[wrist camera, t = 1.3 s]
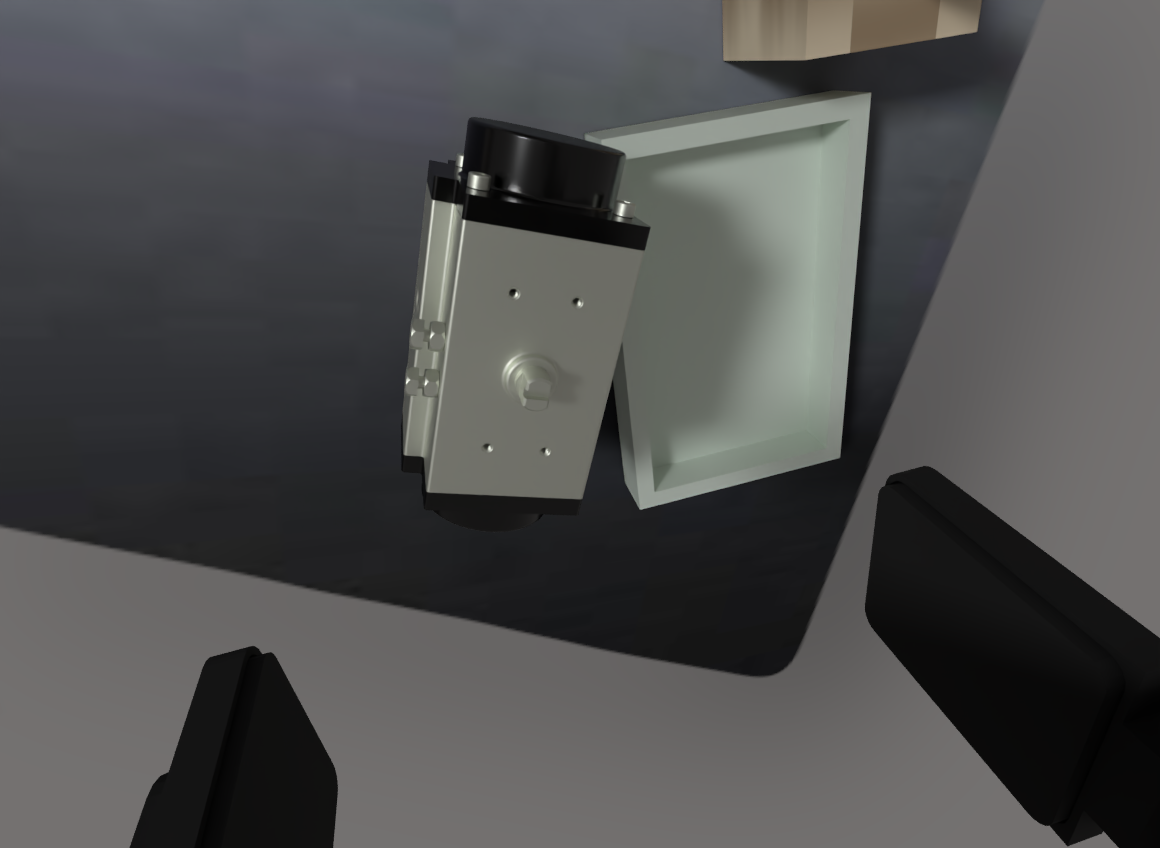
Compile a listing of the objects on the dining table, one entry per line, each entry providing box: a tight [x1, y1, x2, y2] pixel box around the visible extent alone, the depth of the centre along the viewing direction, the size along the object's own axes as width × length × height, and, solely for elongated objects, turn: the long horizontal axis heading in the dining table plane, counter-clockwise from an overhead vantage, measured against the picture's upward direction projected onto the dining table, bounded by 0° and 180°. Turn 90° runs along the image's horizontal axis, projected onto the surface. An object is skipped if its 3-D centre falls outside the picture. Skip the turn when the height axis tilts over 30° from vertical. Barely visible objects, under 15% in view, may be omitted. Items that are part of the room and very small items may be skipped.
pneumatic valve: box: [401, 117, 651, 532], centre depth 22 cm, size 6×12×12 cm, turn 168°
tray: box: [584, 90, 871, 510], centre depth 29 cm, size 17×11×2 cm, turn 8°
